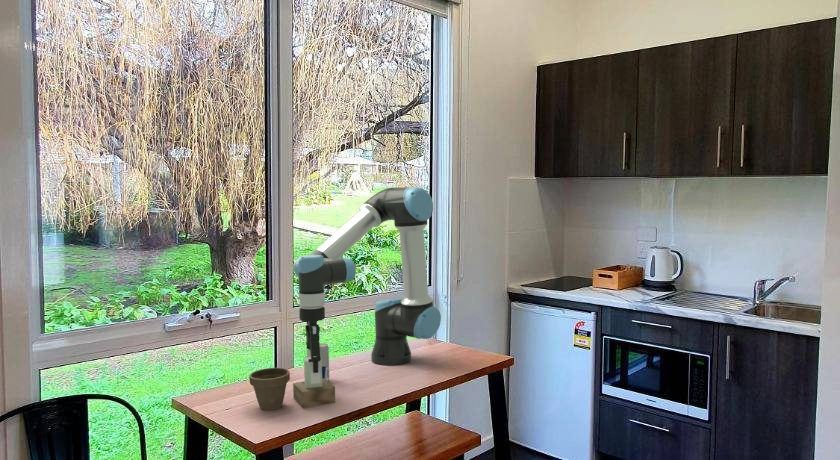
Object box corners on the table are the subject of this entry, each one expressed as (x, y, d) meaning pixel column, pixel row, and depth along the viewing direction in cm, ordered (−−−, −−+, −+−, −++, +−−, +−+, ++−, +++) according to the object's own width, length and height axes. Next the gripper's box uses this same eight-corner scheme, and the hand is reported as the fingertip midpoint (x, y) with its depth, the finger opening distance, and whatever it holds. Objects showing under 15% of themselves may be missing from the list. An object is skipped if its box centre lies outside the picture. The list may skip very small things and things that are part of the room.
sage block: (321, 382, 182) (320, 356, 182) (322, 386, 178) (321, 360, 177) (304, 383, 181) (303, 357, 181) (305, 388, 176) (304, 361, 176)
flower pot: (253, 416, 167) (252, 380, 167) (247, 403, 178) (246, 370, 177) (294, 409, 172) (293, 375, 171) (286, 398, 182) (285, 365, 182)
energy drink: (309, 380, 199) (309, 345, 198) (322, 377, 203) (321, 342, 202) (319, 384, 195) (318, 348, 195) (332, 380, 199) (331, 345, 199)
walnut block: (325, 393, 187) (324, 378, 186) (335, 403, 178) (334, 387, 177) (293, 399, 182) (293, 383, 182) (302, 409, 173) (302, 392, 173)
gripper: (296, 300, 189) (298, 366, 191) (302, 315, 165) (303, 390, 166) (320, 299, 191) (321, 364, 192) (329, 313, 167) (330, 387, 168)
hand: (313, 376), depth 179 cm, fingers open, 13 cm apart
